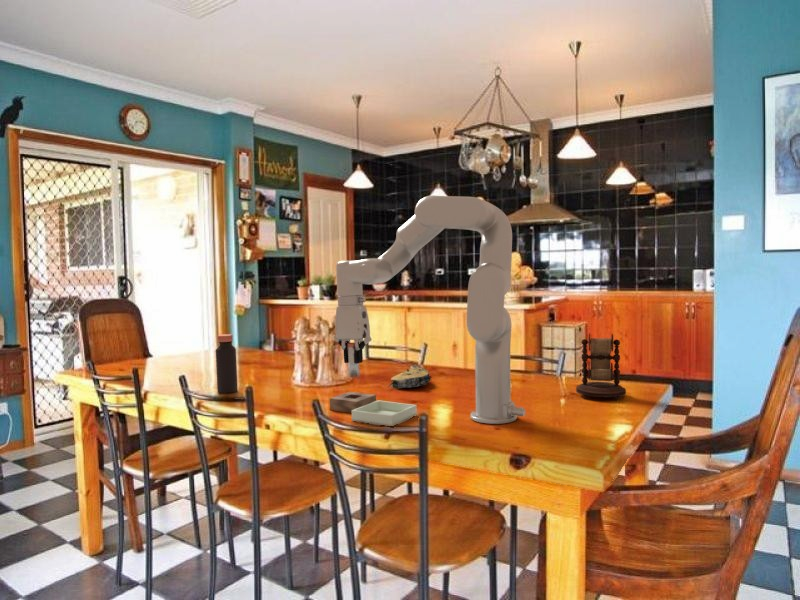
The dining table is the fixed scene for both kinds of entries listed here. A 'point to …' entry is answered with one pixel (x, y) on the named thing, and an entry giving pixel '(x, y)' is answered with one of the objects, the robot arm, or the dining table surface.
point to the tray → (384, 413)
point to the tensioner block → (350, 401)
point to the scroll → (600, 369)
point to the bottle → (226, 365)
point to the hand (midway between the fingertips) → (353, 362)
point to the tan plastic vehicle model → (411, 378)
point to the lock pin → (352, 361)
